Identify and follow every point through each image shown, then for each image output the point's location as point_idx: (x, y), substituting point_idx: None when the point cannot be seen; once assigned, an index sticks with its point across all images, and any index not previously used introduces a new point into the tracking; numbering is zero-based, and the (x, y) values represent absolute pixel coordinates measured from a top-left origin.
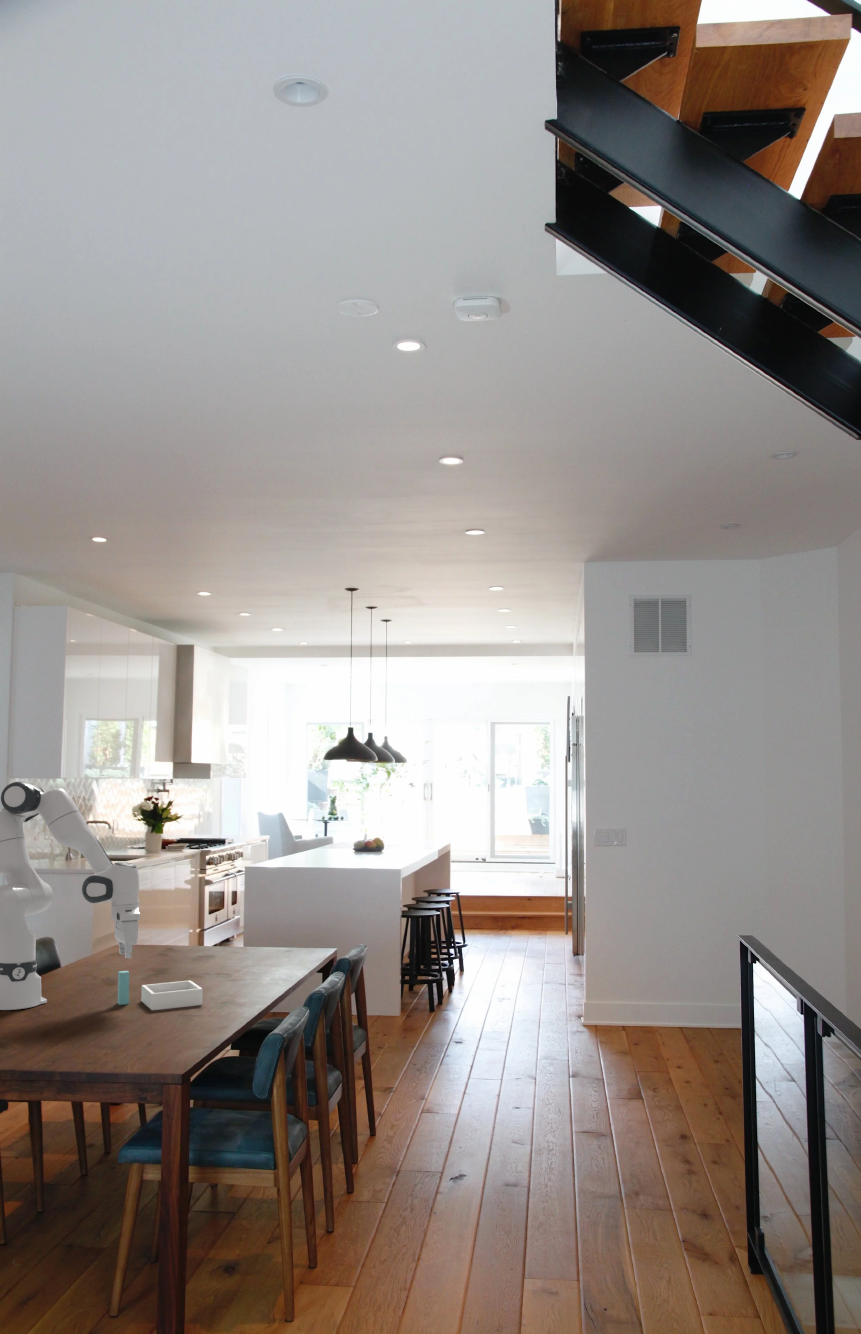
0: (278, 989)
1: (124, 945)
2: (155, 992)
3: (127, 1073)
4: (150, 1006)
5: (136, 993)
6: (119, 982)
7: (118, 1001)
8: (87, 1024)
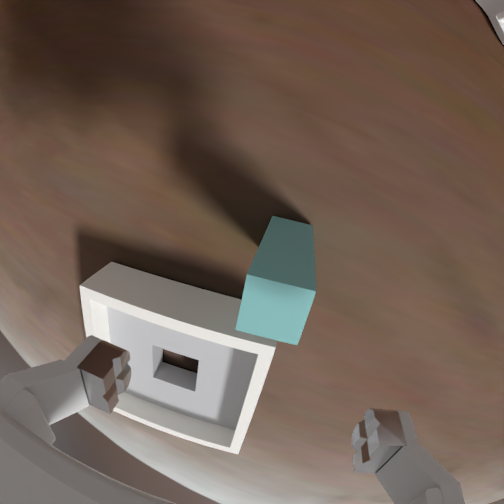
0: (199, 490)
1: (393, 493)
2: (250, 362)
3: None
4: (123, 270)
5: (424, 350)
6: (263, 250)
7: (290, 223)
8: (71, 42)
